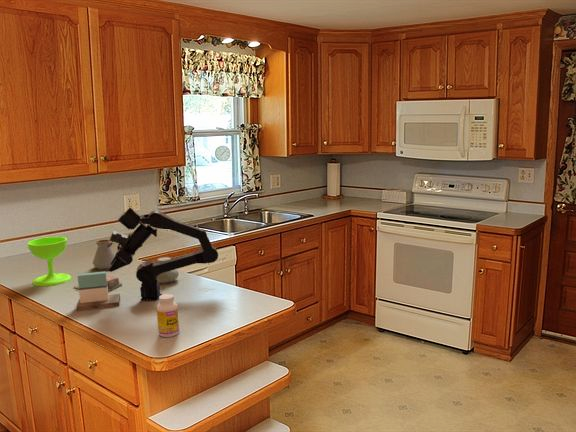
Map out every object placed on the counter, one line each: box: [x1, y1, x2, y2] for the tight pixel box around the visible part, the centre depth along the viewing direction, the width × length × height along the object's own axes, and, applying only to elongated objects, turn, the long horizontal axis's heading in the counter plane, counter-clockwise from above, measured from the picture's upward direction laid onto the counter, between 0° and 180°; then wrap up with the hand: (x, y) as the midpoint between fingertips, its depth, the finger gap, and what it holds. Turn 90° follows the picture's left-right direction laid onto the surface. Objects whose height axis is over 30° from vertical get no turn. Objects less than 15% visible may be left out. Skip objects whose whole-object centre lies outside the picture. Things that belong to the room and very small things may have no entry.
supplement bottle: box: [156, 293, 180, 338], centre depth 178 cm, size 7×7×13 cm
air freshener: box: [156, 256, 179, 284], centre depth 234 cm, size 11×8×10 cm
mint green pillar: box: [77, 270, 108, 289], centre depth 208 cm, size 10×2×5 cm, turn 104°
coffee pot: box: [92, 239, 116, 271], centre depth 254 cm, size 21×12×15 cm, turn 33°
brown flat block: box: [76, 293, 121, 311], centre depth 210 cm, size 15×10×2 cm, turn 104°
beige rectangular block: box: [78, 286, 109, 303], centre depth 209 cm, size 10×3×6 cm, turn 104°
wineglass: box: [26, 236, 72, 287], centre depth 240 cm, size 16×16×18 cm
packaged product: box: [73, 275, 123, 292], centre depth 231 cm, size 18×5×10 cm
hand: (110, 267), depth 209 cm, fingers open, 9 cm apart
